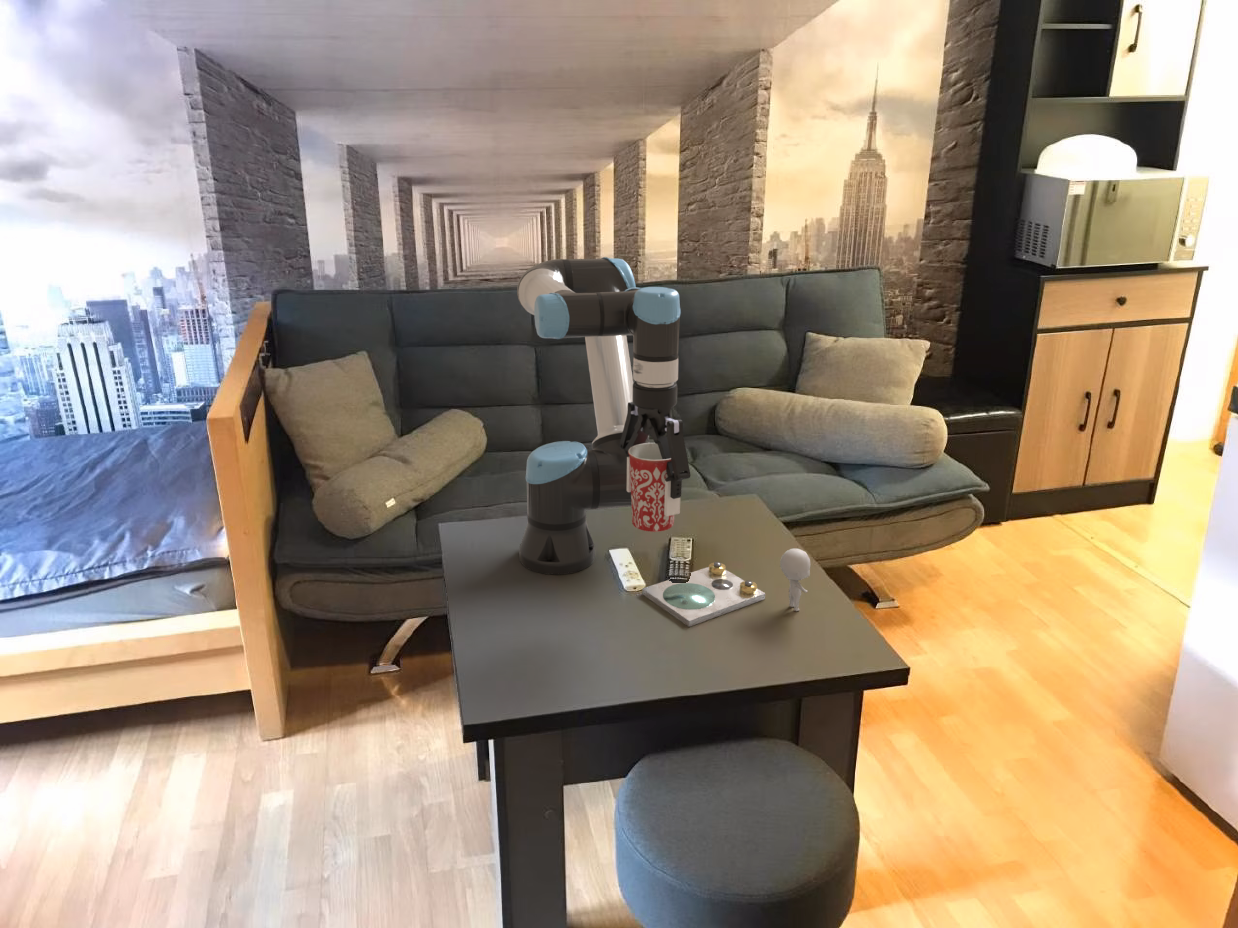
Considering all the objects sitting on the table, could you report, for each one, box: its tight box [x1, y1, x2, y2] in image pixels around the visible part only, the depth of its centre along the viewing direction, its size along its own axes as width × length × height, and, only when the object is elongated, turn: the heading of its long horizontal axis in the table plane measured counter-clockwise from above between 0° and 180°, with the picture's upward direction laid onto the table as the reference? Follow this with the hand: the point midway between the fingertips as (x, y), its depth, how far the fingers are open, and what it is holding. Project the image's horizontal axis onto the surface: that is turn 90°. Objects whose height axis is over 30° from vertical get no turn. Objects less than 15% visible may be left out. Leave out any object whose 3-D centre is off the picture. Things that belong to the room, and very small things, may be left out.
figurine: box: [779, 547, 811, 612], centre depth 175 cm, size 8×5×12 cm
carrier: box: [641, 561, 766, 628], centre depth 180 cm, size 14×18×3 cm
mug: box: [628, 442, 675, 533], centre depth 168 cm, size 13×9×14 cm
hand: (652, 502), depth 169 cm, fingers closed on mug, 12 cm apart
